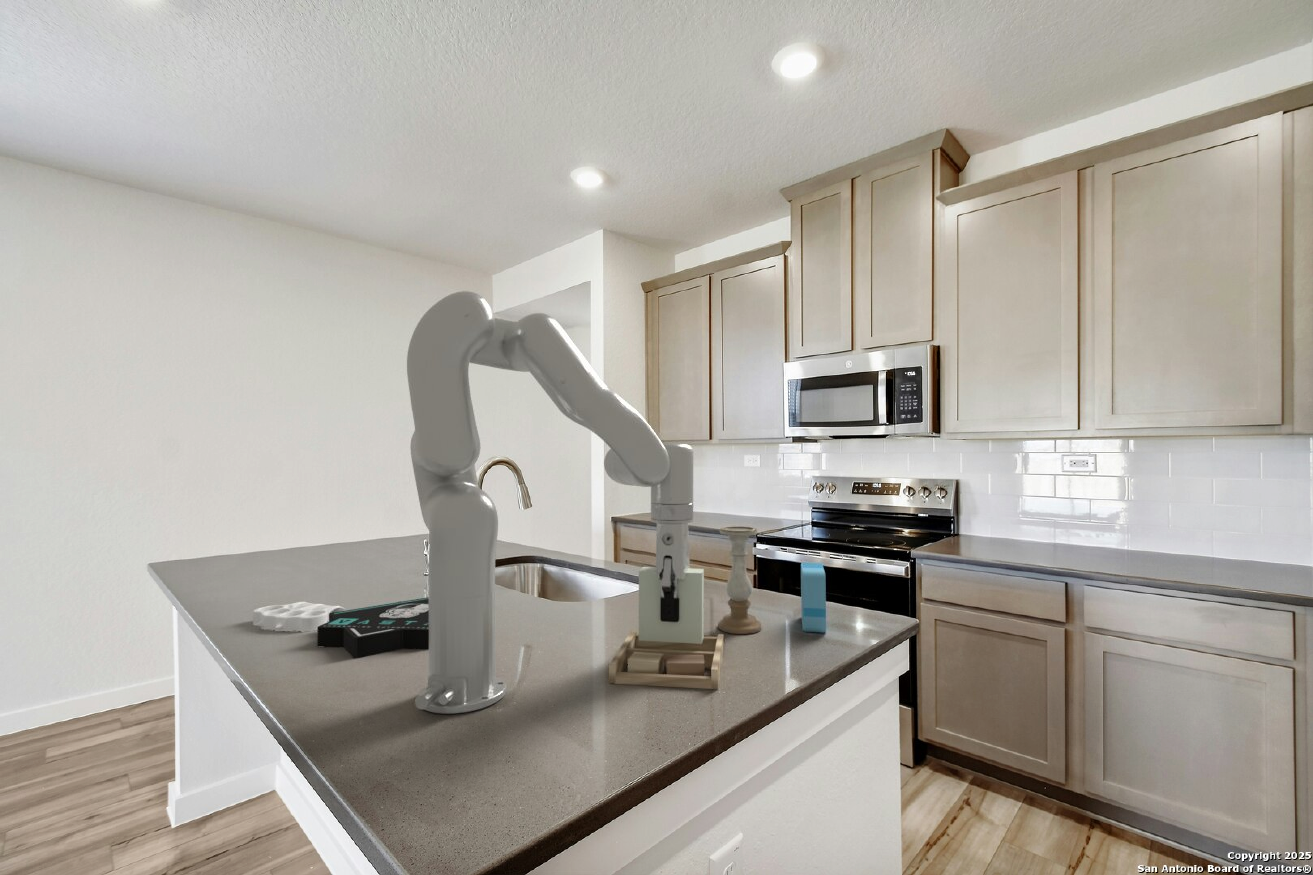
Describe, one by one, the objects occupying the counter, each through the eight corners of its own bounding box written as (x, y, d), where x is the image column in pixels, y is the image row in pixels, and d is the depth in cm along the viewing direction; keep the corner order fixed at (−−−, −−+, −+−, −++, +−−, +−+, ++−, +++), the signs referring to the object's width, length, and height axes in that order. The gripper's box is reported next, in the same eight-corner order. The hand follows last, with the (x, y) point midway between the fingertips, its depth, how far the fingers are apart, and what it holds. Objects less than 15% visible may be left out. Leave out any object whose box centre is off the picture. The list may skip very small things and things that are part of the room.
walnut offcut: (704, 682, 95) (704, 663, 95) (666, 682, 96) (666, 663, 96) (703, 673, 99) (703, 654, 99) (667, 672, 100) (667, 654, 100)
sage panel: (701, 643, 103) (701, 573, 103) (638, 640, 105) (638, 571, 105) (703, 636, 107) (703, 568, 107) (642, 633, 109) (643, 566, 109)
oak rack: (717, 689, 92) (717, 669, 92) (609, 683, 95) (609, 664, 95) (723, 651, 109) (723, 634, 109) (631, 646, 112) (631, 630, 112)
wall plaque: (436, 662, 106) (497, 615, 136) (436, 639, 106) (497, 597, 136) (276, 658, 109) (371, 613, 138) (276, 635, 109) (371, 595, 139)
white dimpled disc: (356, 619, 133) (295, 639, 120) (297, 612, 140) (233, 630, 126) (356, 604, 133) (295, 622, 120) (297, 597, 140) (234, 614, 126)
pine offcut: (658, 681, 96) (657, 662, 96) (627, 678, 97) (627, 659, 97) (663, 671, 100) (663, 653, 100) (634, 669, 101) (634, 651, 101)
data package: (826, 634, 118) (825, 573, 119) (802, 633, 119) (801, 572, 119) (823, 617, 130) (822, 562, 130) (801, 616, 131) (800, 561, 131)
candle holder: (720, 635, 119) (719, 531, 119) (715, 622, 127) (714, 525, 128) (765, 634, 119) (764, 531, 119) (756, 621, 128) (755, 525, 128)
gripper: (687, 518, 98) (687, 632, 97) (697, 509, 114) (697, 606, 114) (642, 517, 99) (641, 630, 98) (658, 508, 115) (658, 604, 115)
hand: (671, 616), depth 106 cm, fingers closed on sage panel, 4 cm apart
